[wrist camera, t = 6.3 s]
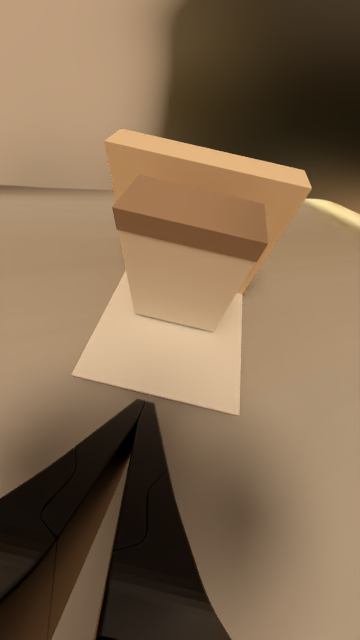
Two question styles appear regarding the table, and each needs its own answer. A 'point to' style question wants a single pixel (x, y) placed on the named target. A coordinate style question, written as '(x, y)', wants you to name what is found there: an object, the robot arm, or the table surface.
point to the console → (168, 337)
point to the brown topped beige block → (187, 249)
